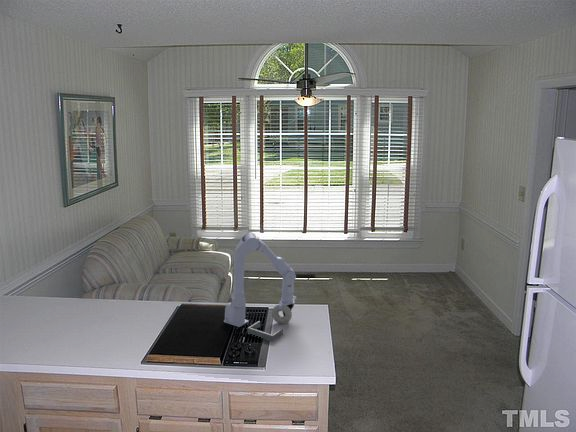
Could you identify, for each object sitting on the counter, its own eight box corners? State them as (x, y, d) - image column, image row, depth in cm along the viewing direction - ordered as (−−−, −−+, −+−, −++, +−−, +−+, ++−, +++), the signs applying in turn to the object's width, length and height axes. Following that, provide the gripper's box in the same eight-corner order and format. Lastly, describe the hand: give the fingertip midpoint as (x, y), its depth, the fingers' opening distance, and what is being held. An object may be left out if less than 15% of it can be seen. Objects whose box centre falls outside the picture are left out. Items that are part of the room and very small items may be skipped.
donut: (292, 323, 248) (293, 304, 245) (290, 326, 244) (291, 307, 242) (272, 320, 250) (272, 301, 247) (270, 323, 246) (271, 304, 244)
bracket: (247, 333, 235) (247, 327, 234) (258, 326, 242) (258, 320, 242) (272, 342, 228) (272, 336, 227) (283, 334, 236) (283, 328, 235)
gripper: (287, 298, 239) (285, 325, 242) (302, 289, 252) (300, 315, 255) (274, 295, 243) (273, 321, 246) (289, 286, 255) (288, 311, 258)
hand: (286, 317), depth 251 cm, fingers closed
